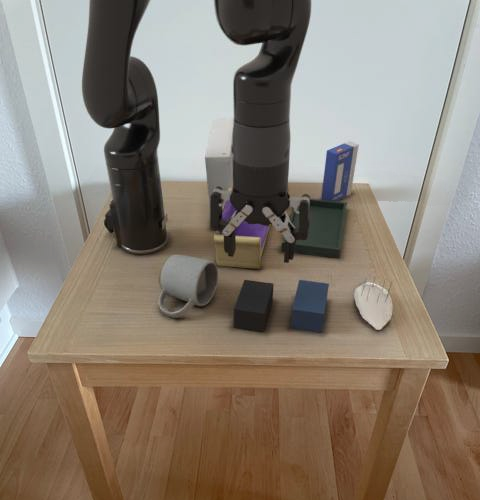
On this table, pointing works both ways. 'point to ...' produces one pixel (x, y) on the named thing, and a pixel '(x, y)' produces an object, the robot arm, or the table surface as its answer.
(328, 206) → the pad frame
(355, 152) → the blue and white box
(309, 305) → the dark blue block
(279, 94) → the robot arm
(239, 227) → the toy sofa
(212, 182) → the skincare box
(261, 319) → the charcoal pad
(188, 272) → the ceramic mug
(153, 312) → the table surface
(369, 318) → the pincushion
